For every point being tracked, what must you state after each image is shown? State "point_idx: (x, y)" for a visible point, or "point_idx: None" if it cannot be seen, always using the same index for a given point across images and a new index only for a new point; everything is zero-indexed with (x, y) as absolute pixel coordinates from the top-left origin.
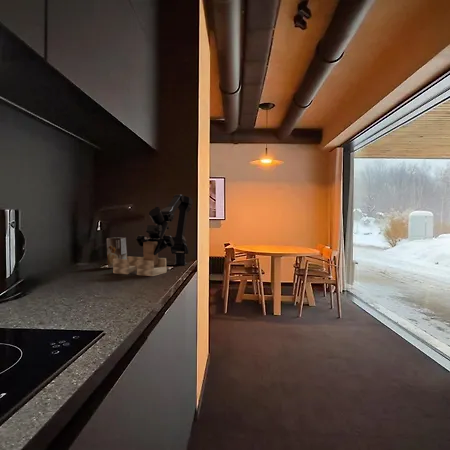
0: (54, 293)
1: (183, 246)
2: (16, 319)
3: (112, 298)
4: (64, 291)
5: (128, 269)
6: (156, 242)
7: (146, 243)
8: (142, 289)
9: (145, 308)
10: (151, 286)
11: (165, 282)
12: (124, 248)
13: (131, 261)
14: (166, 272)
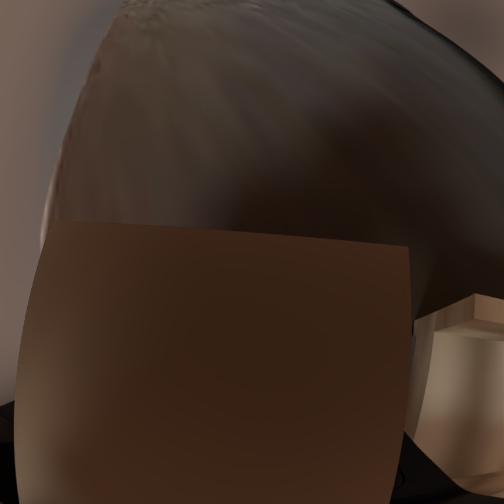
0: (365, 13)
1: None
2: None
3: (204, 3)
4: (363, 21)
5: (428, 324)
6: (29, 456)
7: (270, 253)
8: (159, 49)
9: (129, 2)
10: (139, 76)
11: (96, 135)
12: None
13: (489, 480)
14: None
